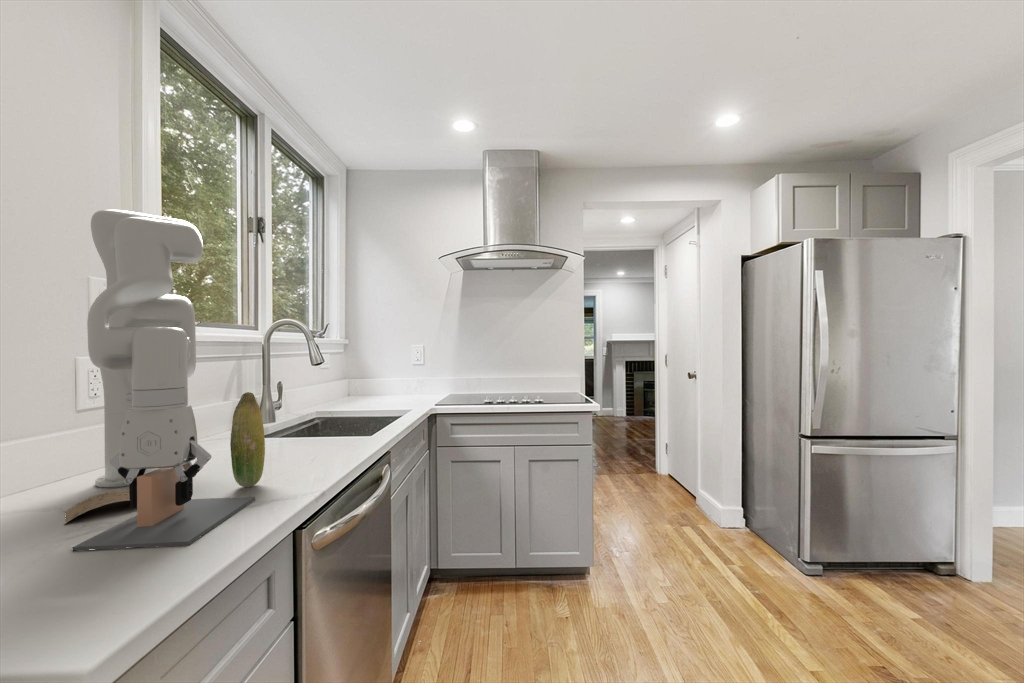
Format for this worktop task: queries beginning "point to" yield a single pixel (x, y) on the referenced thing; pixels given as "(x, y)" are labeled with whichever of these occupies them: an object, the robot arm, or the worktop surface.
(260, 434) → the vegetable
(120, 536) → the mat
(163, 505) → the block
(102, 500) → the cork arch piece
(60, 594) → the worktop surface
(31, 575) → the worktop surface
